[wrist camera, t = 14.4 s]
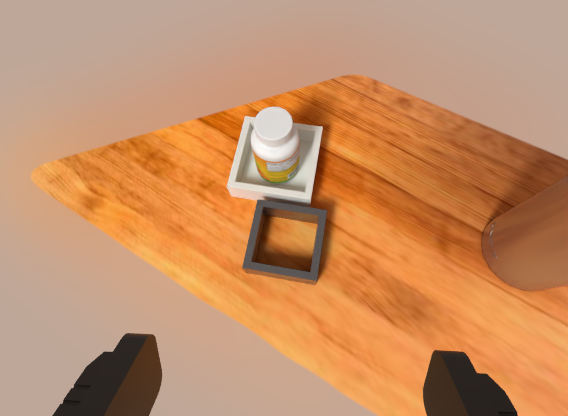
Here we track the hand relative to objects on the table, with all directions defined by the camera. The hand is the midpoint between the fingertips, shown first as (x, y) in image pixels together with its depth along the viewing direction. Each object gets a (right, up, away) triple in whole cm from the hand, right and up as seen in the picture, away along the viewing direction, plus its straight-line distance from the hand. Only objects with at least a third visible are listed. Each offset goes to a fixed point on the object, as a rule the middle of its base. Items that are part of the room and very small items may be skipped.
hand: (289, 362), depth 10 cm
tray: (-1, +10, +34) cm, 36 cm away
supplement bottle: (-1, +10, +34) cm, 35 cm away
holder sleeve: (0, 0, +30) cm, 31 cm away
